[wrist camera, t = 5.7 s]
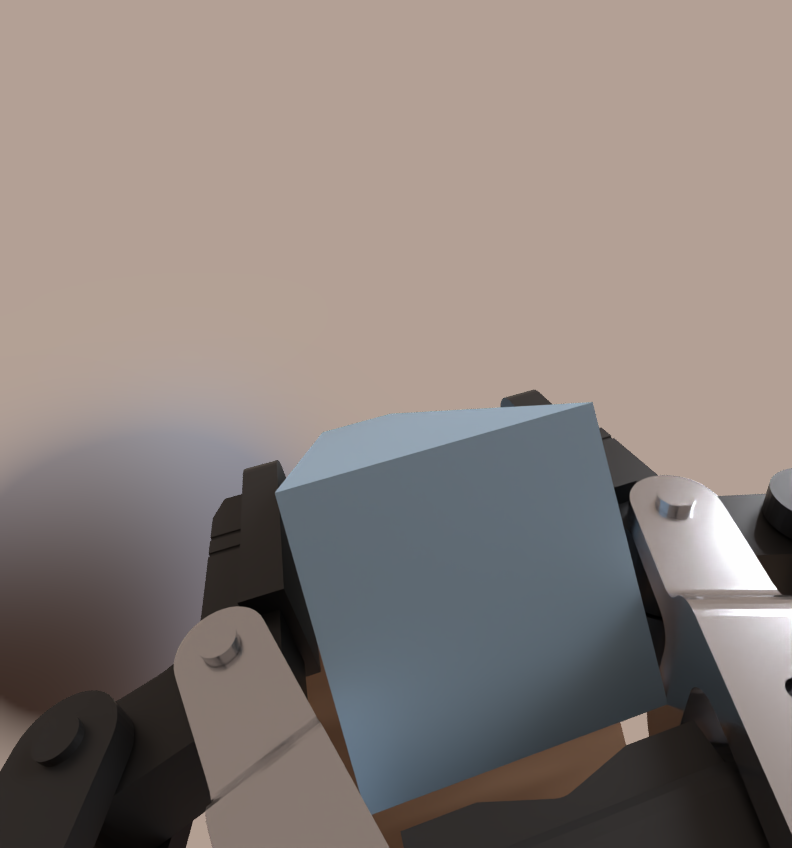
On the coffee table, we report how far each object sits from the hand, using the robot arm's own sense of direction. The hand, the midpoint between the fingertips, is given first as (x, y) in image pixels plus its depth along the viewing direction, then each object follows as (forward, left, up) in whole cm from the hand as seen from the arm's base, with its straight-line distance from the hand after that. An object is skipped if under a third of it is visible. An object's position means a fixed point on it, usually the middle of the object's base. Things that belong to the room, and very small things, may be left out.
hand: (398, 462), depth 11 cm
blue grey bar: (-4, +4, -3) cm, 7 cm away
